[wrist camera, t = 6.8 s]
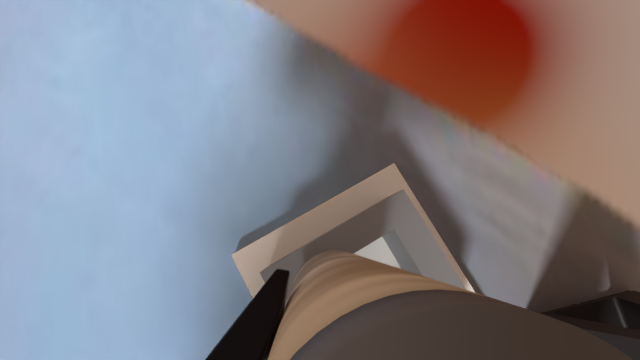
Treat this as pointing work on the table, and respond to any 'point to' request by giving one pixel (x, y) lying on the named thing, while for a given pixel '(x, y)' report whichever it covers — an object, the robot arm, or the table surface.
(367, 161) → the table surface
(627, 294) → the phone stand
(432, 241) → the post socket
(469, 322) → the rail post
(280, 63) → the table surface
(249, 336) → the robot arm
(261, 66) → the table surface
